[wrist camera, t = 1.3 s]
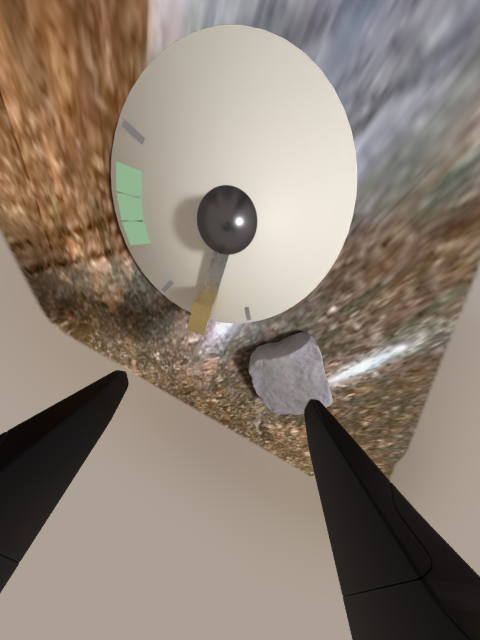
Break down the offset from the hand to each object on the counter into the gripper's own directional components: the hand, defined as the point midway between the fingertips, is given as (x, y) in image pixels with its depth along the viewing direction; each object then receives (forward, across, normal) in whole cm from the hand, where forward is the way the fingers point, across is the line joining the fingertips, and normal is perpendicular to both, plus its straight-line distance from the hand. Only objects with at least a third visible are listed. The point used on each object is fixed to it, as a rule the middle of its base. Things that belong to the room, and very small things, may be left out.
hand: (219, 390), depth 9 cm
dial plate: (+13, +1, -7) cm, 15 cm away
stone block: (+14, -9, +10) cm, 19 cm away
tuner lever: (+12, +2, -3) cm, 12 cm away
